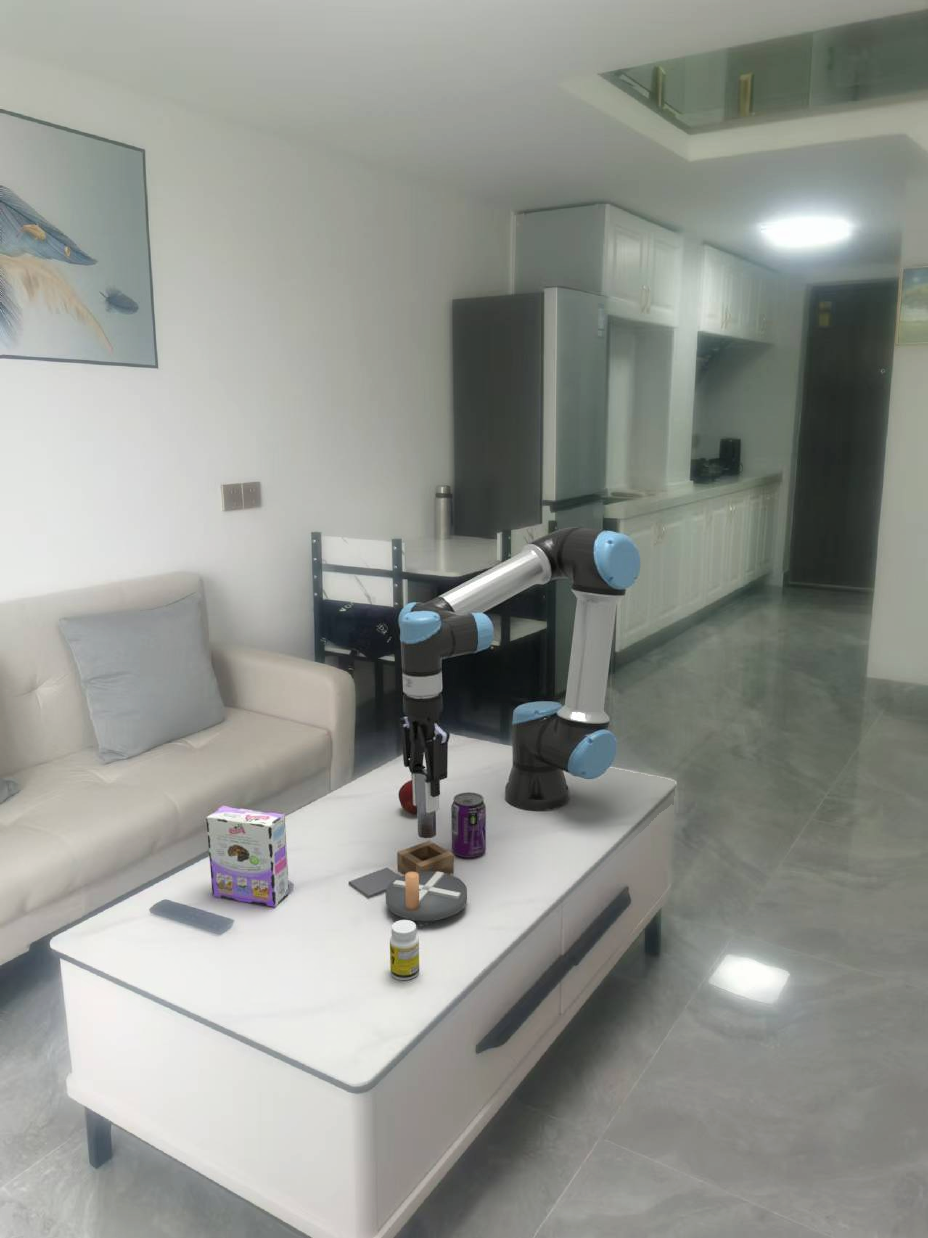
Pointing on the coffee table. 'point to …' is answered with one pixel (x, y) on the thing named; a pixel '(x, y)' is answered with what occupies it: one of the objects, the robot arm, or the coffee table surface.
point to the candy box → (248, 855)
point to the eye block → (425, 859)
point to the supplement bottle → (404, 950)
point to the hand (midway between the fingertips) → (426, 806)
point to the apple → (407, 798)
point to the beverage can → (468, 825)
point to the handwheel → (426, 895)
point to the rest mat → (374, 882)
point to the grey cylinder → (424, 808)
